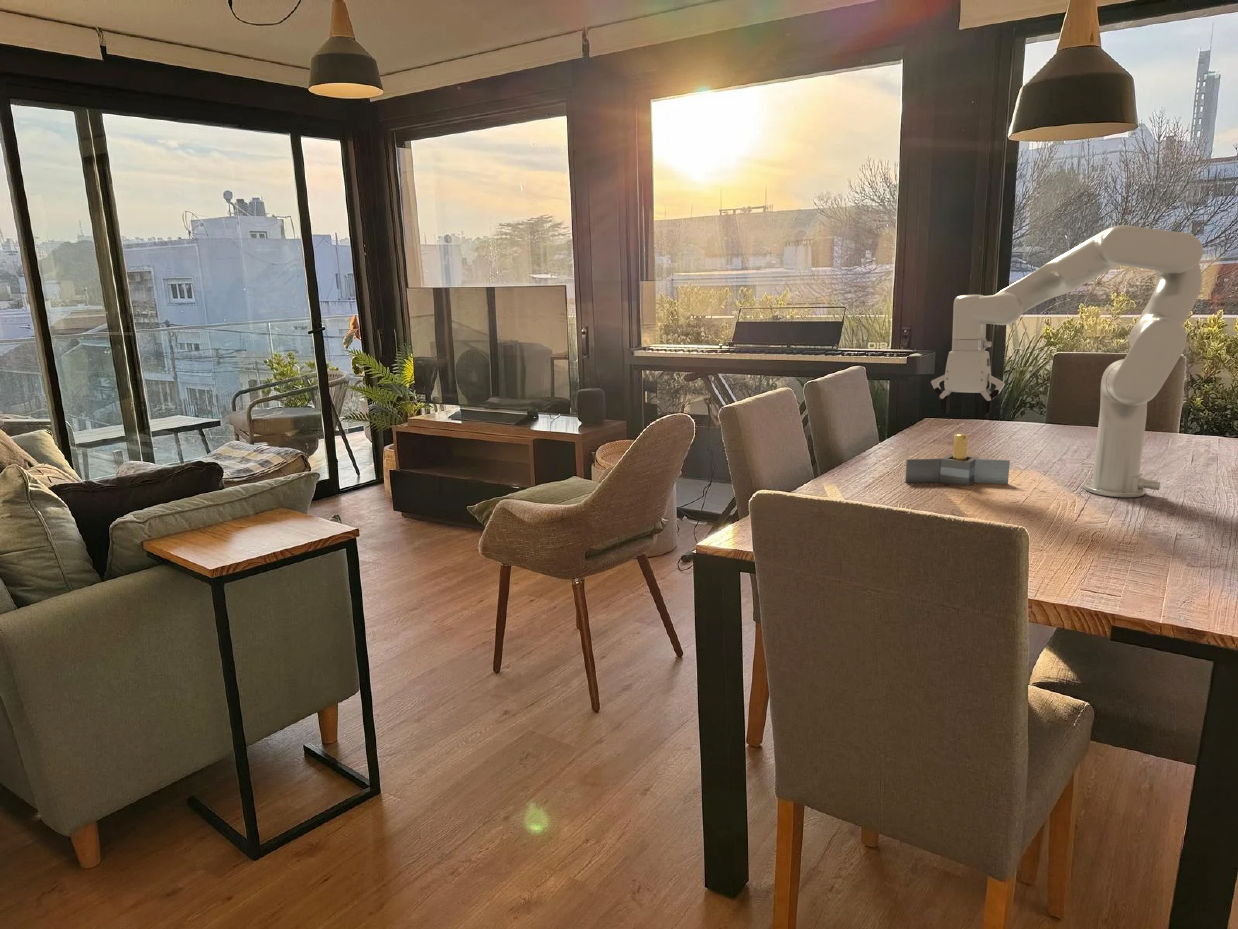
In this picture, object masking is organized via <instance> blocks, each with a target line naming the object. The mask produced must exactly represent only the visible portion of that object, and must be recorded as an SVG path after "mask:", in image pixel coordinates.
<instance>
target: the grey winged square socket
mask: <svg viewBox="0 0 1238 929" xmlns="http://www.w3.org/2000/svg"><path fill="white" fill-rule="evenodd" d="M905 460H906V462H905V475H904V476H905V478H904V479H905V480H904V481H905V482H904V483H905V484H913V483H915V484H916V483H943V484H950V485H951V484H953V485H959V486H964V487H965V486H966V487H969V486H971V485H972V484H973V483H979V484H981V483H982V484H996V485H997V484H998V485H1008V484H1009V477H1010V476H1009V474H1010V462H1011V460H1010V459H1009V460H1007V459H993V458H991V459H989V458H979V457H978V456H972V455H971V456H970V455H967V457H966V461H963V460H954V459H953V453H952V454H951V453H950V454H949V455H946V456H944V457H942V458H940V457H939V458H907V459H905Z"/></svg>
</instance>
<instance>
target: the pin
mask: <svg viewBox="0 0 1238 929" xmlns="http://www.w3.org/2000/svg"><path fill="white" fill-rule="evenodd" d="M968 441H969V435H968V434H966V433H954V435H953V449H952V450H953V452H952V454H953V459H954V460H963V461H966V457H967V456H968V455H967V454H968V443H969V442H968Z"/></svg>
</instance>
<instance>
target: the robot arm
mask: <svg viewBox="0 0 1238 929" xmlns="http://www.w3.org/2000/svg"><path fill="white" fill-rule="evenodd" d="M1203 254H1204V246H1203V244H1202V242H1201V240H1200V239H1199V238H1198V237H1197V236H1195V235H1194V234H1191V233H1188V232H1180V231H1174V230H1165V229H1156V228H1155V229H1154V228H1149V227H1141V226H1135V225H1127V224H1120V225H1115V226H1112V227H1109V228H1106V229H1103V230H1102V231H1100V232H1099V233H1097V234H1095V235H1094V236H1092V237H1090V238H1089V239H1086V240H1085V241H1083V242H1082V243H1080V244H1078V245H1076V246H1074V247H1072V248H1071V249H1069V250H1067V251H1066V252H1064V253H1062V254H1060V255H1059V256H1057V257H1055V258H1054V259H1052V260H1050V261H1049V262H1047V263H1045V264H1044V265H1042V266H1041V267H1039V268H1038V269H1037V270H1036V269H1035V271H1033V272H1031V273H1029V274H1028V275H1026V276H1024V277H1023V278H1021V279H1018V280H1017V281H1016V282H1014V283H1012V284H1010V285H1009V286H1007V287H1005V288H1003V289H1001V290H1000V291H998V292H996V293H995V294H993V295H992V294H990V295H983V294H962V295H958V296H955V298H954V301H953V307H952V308H953V312H952V316H953V317H952V318H953V319H952V341H951V351H949V352H948V355H947V361H946V365H945V372H944V374H943V375H940V376H939V377H936V378H934V379H932V380H931V381H930V384H931V386H932V388H933V389H934V390H933V391H934V392H935V393H936V394H937V396H939V399H940V402H941V404H940V410H941V411H942V415H943V416H944V415H945V416H946V415H948V414H949V413H950V411H951V410H950V404H951V398H950V397H949V396H950V394H951V393H952V392H953V393H970V394H973V393H974V394H975V393H977V394H979V393H980V394H981V396H982V397H983V398H984V400H983V402H982V417H983V418H986V417H988V416H990V414H992V410H993V409H992V408H993V400H994V399H995V398H996V397H997V396H998V395H999V394H1000V393H1001V392H1002V390H1003V388H1004V386H1005V385H1006V384H1005V382H1004V381H1002V380H1000V379H999V378H996V377H994V376H992V375H991V374H992V371H991V370H992V369H991V368H992V367H991V359H990V358H991V357H990V352H989V351H987V348H992V341H988V340H987V337H986V336H987V332H986V331H987V325H998V326H1007V325H1011V324H1014V323H1015V322H1017V321H1018V320H1019V319H1020V318H1021V316H1022V314H1023V313H1026V312H1027V311H1029V310H1030V309H1032V308H1034V307H1036V306H1038V305H1040V304H1041V303H1044V302H1046V301H1048V300H1050V299H1053V298H1056V297H1059V296H1063V295H1066V294H1069V293H1070V292H1073V291H1074V290H1076V289H1078V288H1080V287H1082V286H1083V285H1085V284H1087V283H1088V282H1090V281H1092V280H1094V279H1096V278H1098V277H1099V276H1101V275H1103V274H1105V273H1106V272H1109V271H1110V270H1112V269H1114V268H1116V267H1118V266H1124V267H1125V266H1126V267H1130V268H1131V267H1132V268H1135V269H1136V268H1137V269H1143V270H1149V271H1150V270H1151V271H1154V272H1155V275H1156V284H1155V288H1154V289H1153V290H1154V291H1153V292H1152V295H1151V297H1150V299H1149V301H1148V302H1147V305H1146V306H1145V307H1144V309H1143V311H1142V312H1141V314H1140V316H1139V317H1138V319H1137V321H1136V323H1135V324H1134V325H1133V327H1132V329H1131V330H1130V331H1129V332H1130V333H1129V335H1128V336H1129V337H1128V342H1129V346H1130V348H1129V351H1128V352H1127V354H1126V356H1125V357H1124V359H1123V358H1122V359H1119V360H1116V361H1114V362H1112V363H1111V364H1109V365H1108V366H1107V367H1106V368H1105V370H1104V371H1103V374H1102V376H1101V382H1100V404H1099V405H1100V406H1099V417H1098V427H1097V435H1096V443H1095V444H1096V445H1095V453H1094V464H1093V473H1092V480H1091V481H1087V482H1085V483H1084V487H1083V488H1084V490H1085V491H1087V492H1089V493H1092V494H1095V495H1100V496H1106V497H1112V498H1137V497H1138V498H1140V497H1143V496H1144V495H1145V494H1146V489H1150V490H1155V491H1160V490H1161V486H1162V485H1161V481H1157V480H1154V479H1146V478H1144V477H1143V473H1142V472H1141V463H1142V454H1143V446H1144V438H1145V431H1146V425H1147V416H1148V415H1147V411H1148V403H1149V402H1150V401H1152V400H1153V399H1154V398H1155V397H1156V396H1157V394H1158V393H1159V392H1160V390H1161V389H1162V388H1163V386H1164V385H1165V382H1166V381H1167V380H1168V378H1169V376H1170V374H1171V373H1172V371H1173V369H1174V368H1175V366H1176V364H1177V363H1178V361H1179V360H1180V358H1181V356H1182V354H1183V352H1184V350H1185V348H1186V344H1187V338H1188V336H1187V331H1186V329H1185V328H1184V325H1185V323H1186V321H1187V319H1188V317H1189V315H1190V314H1191V311H1192V309H1193V308H1194V306H1195V304H1196V302H1197V300H1198V297H1199V295H1200V293H1201V289H1202V280H1203V278H1202V276H1203V275H1202V270H1201V266H1200V263H1199V262H1201V260H1202V257H1203V256H1204V255H1203ZM943 381H944V385H943V386H944V390H943V388H942V387H941V386H940V383H941V382H943ZM992 384H993V385H994V386H995V389H994V390H993V391H990V389H991V386H992Z"/></svg>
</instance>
